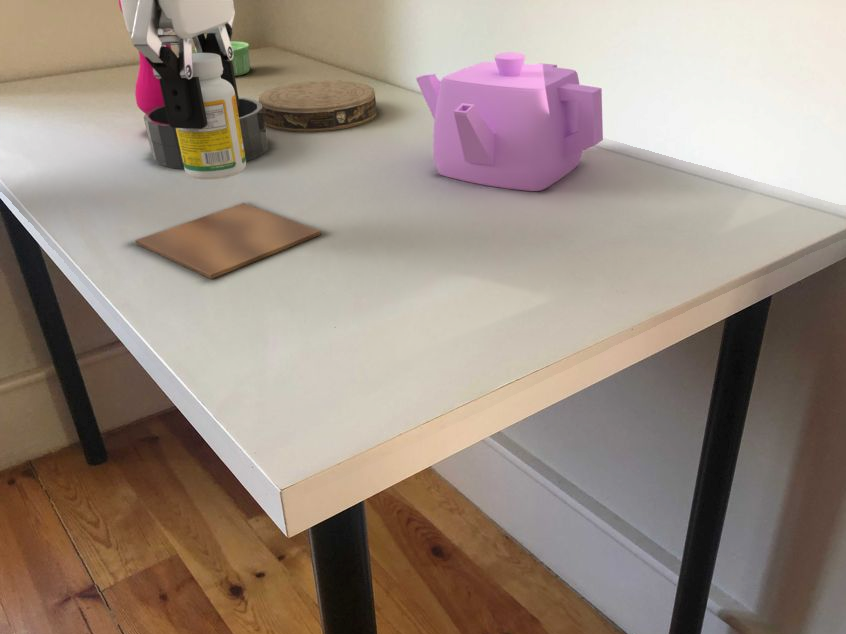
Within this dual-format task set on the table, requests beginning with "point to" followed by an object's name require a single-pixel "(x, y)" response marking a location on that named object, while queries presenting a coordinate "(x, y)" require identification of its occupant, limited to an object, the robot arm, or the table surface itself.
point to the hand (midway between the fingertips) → (205, 115)
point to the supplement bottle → (213, 126)
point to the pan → (168, 145)
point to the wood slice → (318, 106)
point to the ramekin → (240, 57)
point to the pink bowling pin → (148, 83)
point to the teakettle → (511, 122)
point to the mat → (227, 239)
